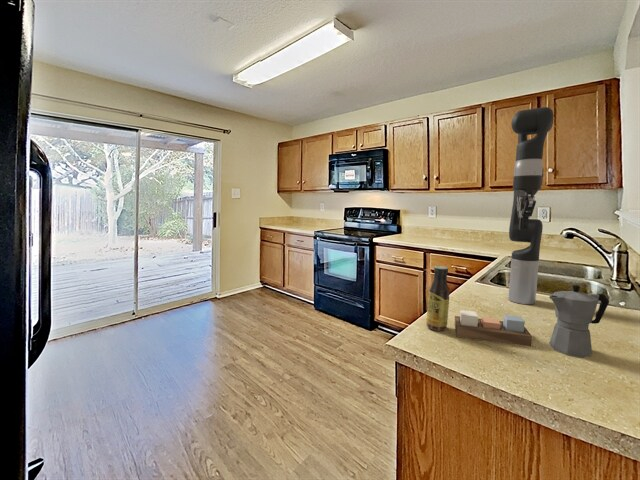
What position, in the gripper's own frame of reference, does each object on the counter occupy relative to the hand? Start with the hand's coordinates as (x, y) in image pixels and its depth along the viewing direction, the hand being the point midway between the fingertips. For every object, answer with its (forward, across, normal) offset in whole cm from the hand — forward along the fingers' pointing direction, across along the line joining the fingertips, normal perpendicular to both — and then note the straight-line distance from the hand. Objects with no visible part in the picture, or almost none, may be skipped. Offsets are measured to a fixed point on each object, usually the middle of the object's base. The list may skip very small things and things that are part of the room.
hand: (523, 229), depth 101 cm
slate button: (+29, -14, +4) cm, 32 cm away
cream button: (+29, -14, +16) cm, 36 cm away
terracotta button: (+30, -14, +10) cm, 35 cm away
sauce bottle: (+31, -14, +25) cm, 42 cm away
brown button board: (+31, -14, +10) cm, 35 cm away
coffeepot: (+31, -17, -10) cm, 37 cm away
